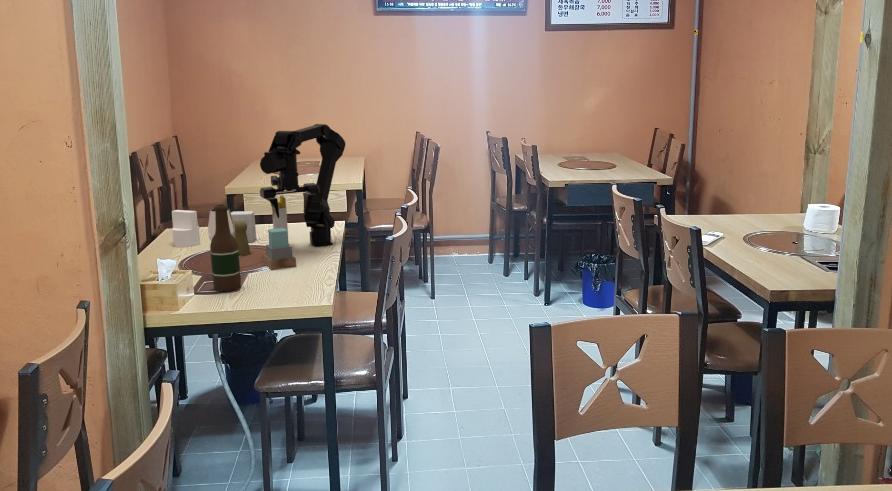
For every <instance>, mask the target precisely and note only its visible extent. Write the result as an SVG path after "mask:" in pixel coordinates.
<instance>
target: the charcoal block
mask: <svg viewBox="0 0 892 491" xmlns="http://www.w3.org/2000/svg"><path fill="white" fill-rule="evenodd" d="M265 251H266V255H267V256H268V257H269V258H270V259H271V260H277V259H285V258H293V256H294V254H293V246H292V245H290V244H288V247H278V248H272V247H271V246H270V245H269V244H266V245H265Z"/></svg>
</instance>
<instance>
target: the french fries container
mask: <svg viewBox="0 0 892 491" xmlns="http://www.w3.org/2000/svg"><path fill="white" fill-rule="evenodd" d="M284 195H285V194H280V195H279V199H277V200H278V208H279V218H277V216H276V213H275V211H274V209H273V207H272V205H271V204H270V206H271V210H272V211H271V212H272V227H273V228H272V229H277V228H285V229H286V230H287V233H288V234H289V229H288V228H289V227H288V215H287V214H288V212H287V204H286V203H287V202H286V200H287V199H286V197H285V196H284ZM288 244H289V241H288ZM289 245H290V244H289Z"/></svg>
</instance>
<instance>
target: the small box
mask: <svg viewBox="0 0 892 491" xmlns="http://www.w3.org/2000/svg"><path fill="white" fill-rule="evenodd" d="M230 213H231V216H232V219H233V223H234V222H238V221H242V222H245V223H246V224H247V230H246V234H247V239H248V243H254V242H255V241H256V240H257V230H256V219H255V218H256V217H255V211H254V210H249V211H248V210H247V211H245V210H244V211H242V210H241V211H240V210H239V211H231V212H230Z"/></svg>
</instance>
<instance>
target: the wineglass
mask: <svg viewBox="0 0 892 491" xmlns="http://www.w3.org/2000/svg"><path fill="white" fill-rule="evenodd" d="M231 213H232V212H231V210H230V208H228V209H227V214H228V221H229V228H230V232H231V234H232V235H233V237H234V238H235V227H234V223H233V219H232V216H231ZM207 228H208V229H207V233H208V234H207V235H208V239H209V241H210V242H211V240H212V238H213V236H214V235H215V230H216V221H215V210H214V208H213V209H210V210H209V216H208V226H207Z"/></svg>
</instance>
